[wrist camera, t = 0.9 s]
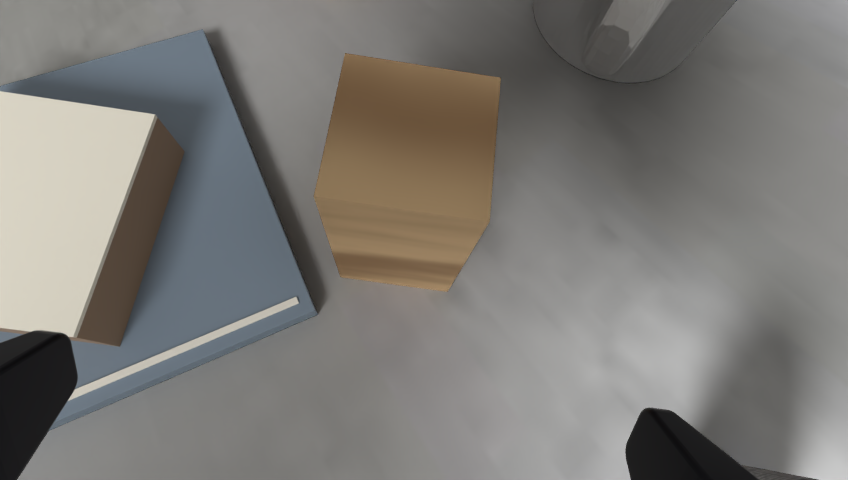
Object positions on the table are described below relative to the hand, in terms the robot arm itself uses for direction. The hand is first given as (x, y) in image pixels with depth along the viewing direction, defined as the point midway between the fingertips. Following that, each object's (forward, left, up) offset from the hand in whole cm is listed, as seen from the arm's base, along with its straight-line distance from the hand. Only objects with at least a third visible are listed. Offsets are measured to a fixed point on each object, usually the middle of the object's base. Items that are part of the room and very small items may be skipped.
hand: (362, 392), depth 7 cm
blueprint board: (-10, +12, -13) cm, 21 cm away
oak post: (+4, +6, -13) cm, 15 cm away
